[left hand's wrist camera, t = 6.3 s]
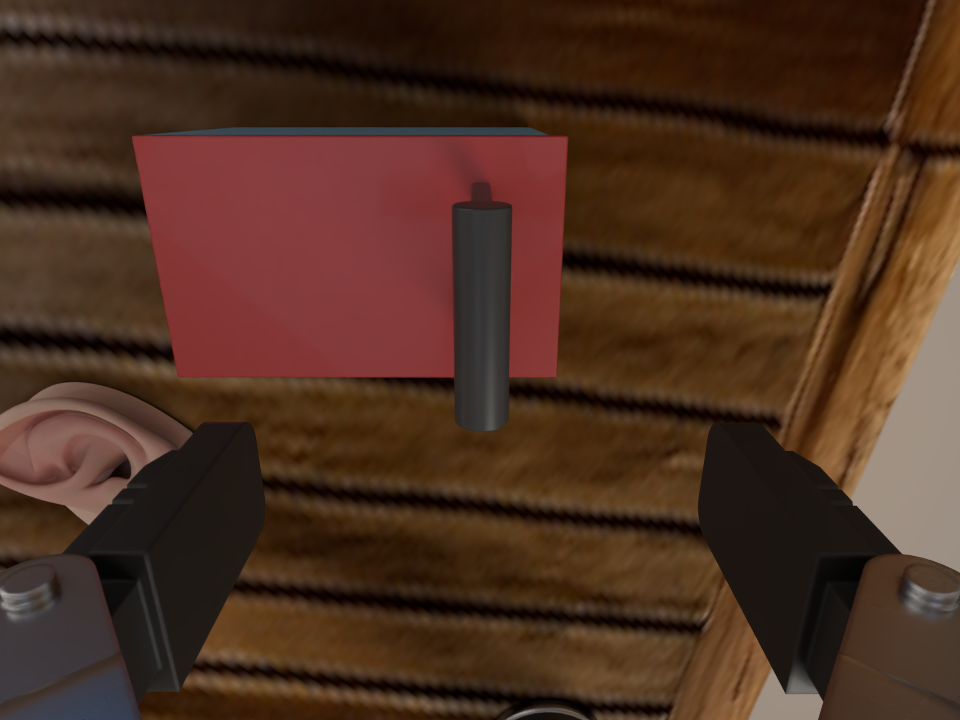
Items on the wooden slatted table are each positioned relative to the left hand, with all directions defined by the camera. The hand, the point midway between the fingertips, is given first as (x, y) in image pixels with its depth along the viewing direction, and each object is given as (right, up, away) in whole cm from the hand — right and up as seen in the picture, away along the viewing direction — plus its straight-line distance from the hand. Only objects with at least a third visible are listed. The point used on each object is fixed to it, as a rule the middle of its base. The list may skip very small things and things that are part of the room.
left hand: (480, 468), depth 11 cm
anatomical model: (-23, -5, +30) cm, 38 cm away
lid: (-5, +6, +15) cm, 17 cm away
